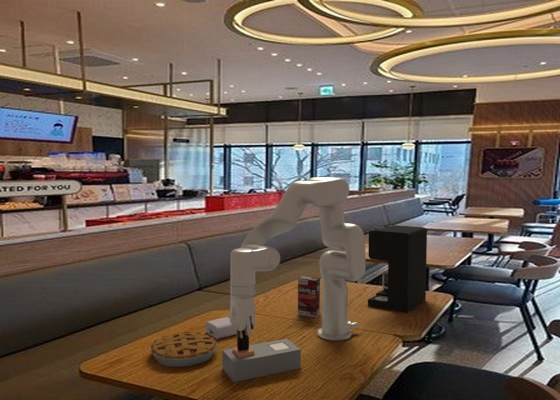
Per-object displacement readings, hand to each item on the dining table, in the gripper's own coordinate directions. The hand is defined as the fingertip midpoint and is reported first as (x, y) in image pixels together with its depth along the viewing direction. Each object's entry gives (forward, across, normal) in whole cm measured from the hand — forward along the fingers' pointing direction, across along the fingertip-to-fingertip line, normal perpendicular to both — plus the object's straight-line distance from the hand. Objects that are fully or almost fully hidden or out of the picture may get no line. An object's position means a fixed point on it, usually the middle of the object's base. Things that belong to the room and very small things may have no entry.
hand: (243, 349), depth 139 cm
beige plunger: (+7, 0, +12) cm, 14 cm away
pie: (+8, -21, -13) cm, 26 cm away
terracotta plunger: (+6, 0, 0) cm, 6 cm away
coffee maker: (+7, -39, +92) cm, 100 cm away
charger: (+8, -36, +8) cm, 37 cm away
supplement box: (+7, -40, +45) cm, 61 cm away
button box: (+7, 0, +6) cm, 9 cm away
